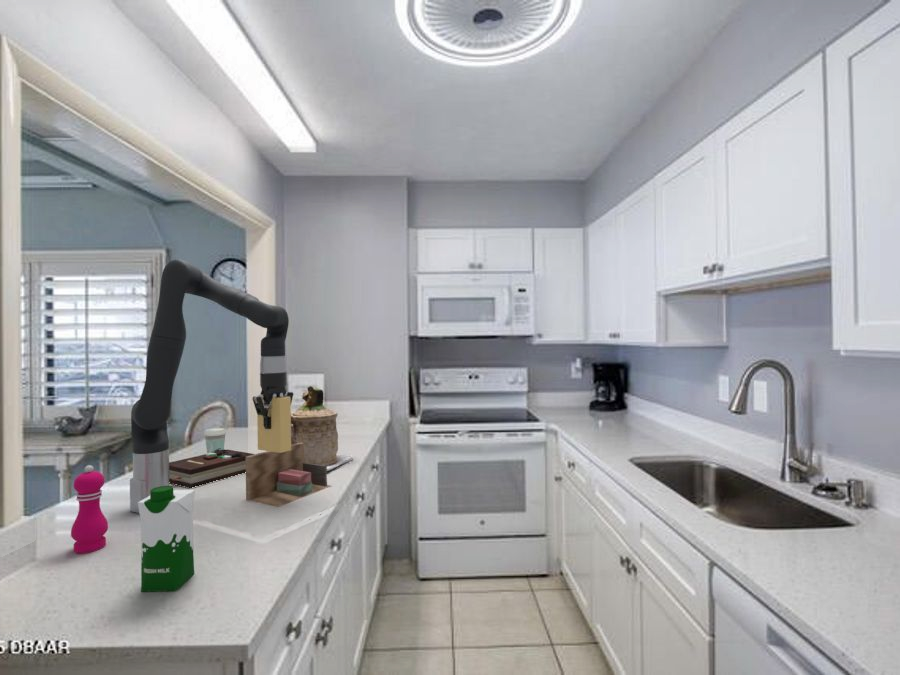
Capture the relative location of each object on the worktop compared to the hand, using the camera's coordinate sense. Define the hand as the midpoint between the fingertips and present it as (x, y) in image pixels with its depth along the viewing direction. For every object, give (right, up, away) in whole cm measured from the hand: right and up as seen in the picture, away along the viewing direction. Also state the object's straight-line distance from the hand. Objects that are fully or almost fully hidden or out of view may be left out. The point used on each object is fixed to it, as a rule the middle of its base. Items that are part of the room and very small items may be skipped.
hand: (274, 427), depth 146 cm
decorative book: (-35, -25, +32) cm, 53 cm away
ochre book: (0, -7, 0) cm, 7 cm away
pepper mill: (-34, -24, -30) cm, 51 cm away
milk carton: (-4, -23, -47) cm, 53 cm away
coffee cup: (-47, -24, +60) cm, 80 cm away
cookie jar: (-1, -24, +45) cm, 51 cm away
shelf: (+3, -23, +6) cm, 24 cm away
